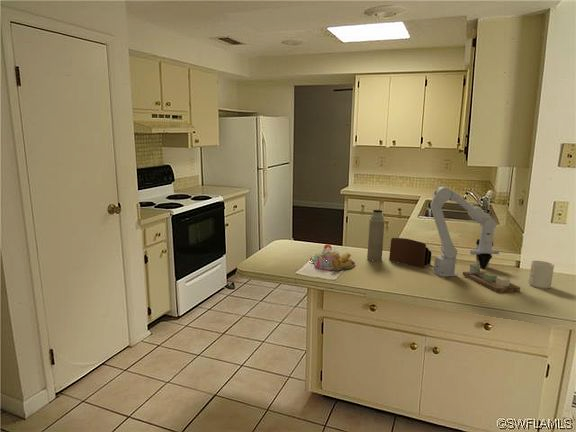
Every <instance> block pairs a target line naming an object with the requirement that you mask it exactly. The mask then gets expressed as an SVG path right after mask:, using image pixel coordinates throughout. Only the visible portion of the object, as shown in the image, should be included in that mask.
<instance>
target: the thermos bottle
mask: <svg viewBox="0 0 576 432" xmlns="http://www.w3.org/2000/svg"><path fill="white" fill-rule="evenodd" d="M372 211H373V213H372V215H371V216H370V217H371V218H370V219H369V224H368V225H369V228H368V240H367V241H368V243H367V256H366V259H367V258H368V259H370V260H373V261H372V262H381V261H382V259H383V247H384V245H383V244H384V236H385V235H384V234H385V223H386V222H385V220H384V215H383V210H381V209H373V210H372ZM368 259H367V260H368ZM370 260H369V261H370Z"/></svg>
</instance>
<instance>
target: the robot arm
mask: <svg viewBox="0 0 576 432" xmlns="http://www.w3.org/2000/svg"><path fill="white" fill-rule="evenodd" d="M448 201H450V202H455V203H457V204H458V205H459V206H461V207H462V208H463V209H464V210H466V211H467V213H468V217H471V218H472V219H473V221H475V222H476V223H478V224H480V226H481V227H480V228H481V229H480V235H479V239H480V241H479V249H476V248H475V249H470V251H469V253H470V255H471V256H476V254H477V257H478V259H479V262H480V269H481V270H486V269H487V268H486V266H487V264H488V262H489V263H490V261H491V259H492V258H493V255H500V250H499V249H496V248H495V249H493V246H492V243H493V244H494V234H495V233H494V232H495V229H496V228H497V221H496V220H495V219H494V218H492V217H491V215H490V214H489V213H486V212H485V211H483V208H482V207H480V206H477V205H475V206H473V205H472V204H470V203H469V202H468V201H467V200H465V198H463V197H462V196H461V195H460V194H459V193H457V192H456V191H454V190H451V189H450V188H449V187H447V186H444V185H440V186H438V187H437V188H436V189H435V191H434V193H433V197H432V199H431V202H430V208H431V212H432V216H433V219H434V222H435V225H436V228H437V231H438V235H439V239H440V243H441V247H440V249H441V252H442V253H441V254H440V256H438V257H436V258H435V259H434V261H433V262H434V264H433V270H432V273H434V274H436V275H437V276H439V277H444V278H445V277H458V276H459V274H456V272H455V270H456V261H457V260H456V259H457V254H458V249H457V248H456V247H455V245H454V243H453V241H452V238H451V235H450V232H449V229H448V225H447V222H446V220H445V215H444V212H443V209H442V208H443V206H444V204H445V203H447V202H448ZM490 254H491V255H490ZM489 260H490V261H489Z"/></svg>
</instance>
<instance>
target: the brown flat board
mask: <svg viewBox="0 0 576 432" xmlns="http://www.w3.org/2000/svg"><path fill="white" fill-rule="evenodd" d="M485 273H488V272H487V271H485V270H480V274H473V273H471V272H470V271H463V272H462V276H463V275H464V276H466V277H468V278H470V279H471V281H472V280H473V282H474V281H475V283H476V282H477V283H476V284H479V285H480V284H481V285H480V286H482V287H484V288H486V289H488V290H490V291H492V292H494V293H496V294H497V293H498V294H499V293H520V292H521V287H520V286H518V285H516V284H513V283H512V282H510V286H509V287H501V286H499V285H497V284H495V283H496V281H488V280H486V279H484V274H485ZM464 276H463V277H464ZM466 277H465V278H466ZM468 278H467V279H468ZM470 279H469V280H470Z"/></svg>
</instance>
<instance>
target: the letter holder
mask: <svg viewBox="0 0 576 432" xmlns="http://www.w3.org/2000/svg"><path fill="white" fill-rule="evenodd" d="M389 247H390V248H389V249H390V250H389V256H388V257H389V258H388V261H389V260H391V261H390V262H393V261H394V263H397V262H399V263H398V264H401V265H402V264H403V265H406V264H407V266H410V265H411V266H412V267H415V266H416V267H415V268H419V267H420V269H424V268H427V267H429V266H430V265H431V264H432V263H431V262H432V251H431V250H430V249H429V247H427V245H426V243H424V242H423V241H418V240H414V239H409V238H403V237H391V239H390V246H389ZM429 264H430V265H429ZM428 265H429V266H428ZM426 266H427V267H426Z"/></svg>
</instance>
